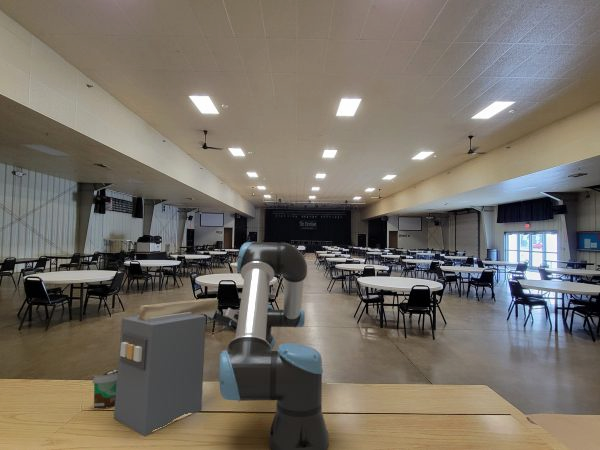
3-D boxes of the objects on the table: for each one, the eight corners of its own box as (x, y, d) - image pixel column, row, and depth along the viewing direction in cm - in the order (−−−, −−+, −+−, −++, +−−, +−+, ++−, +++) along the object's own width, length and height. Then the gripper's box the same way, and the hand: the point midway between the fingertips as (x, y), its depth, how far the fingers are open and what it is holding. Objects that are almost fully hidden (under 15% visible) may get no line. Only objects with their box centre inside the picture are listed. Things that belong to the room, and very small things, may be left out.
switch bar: (217, 310, 111) (218, 299, 111) (147, 321, 89) (148, 307, 90) (209, 309, 113) (210, 298, 114) (139, 319, 92) (140, 305, 92)
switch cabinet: (201, 409, 96) (206, 313, 99) (139, 438, 80) (148, 322, 83) (169, 396, 105) (175, 308, 108) (108, 420, 89) (117, 315, 92)
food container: (107, 413, 93) (110, 377, 94) (89, 410, 94) (92, 376, 95) (136, 396, 105) (138, 364, 106) (120, 394, 106) (123, 363, 107)
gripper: (269, 345, 118) (234, 323, 104) (223, 336, 132) (187, 315, 118) (275, 326, 122) (243, 302, 108) (230, 319, 136) (197, 297, 122)
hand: (214, 309), depth 113 cm, fingers open, 13 cm apart
